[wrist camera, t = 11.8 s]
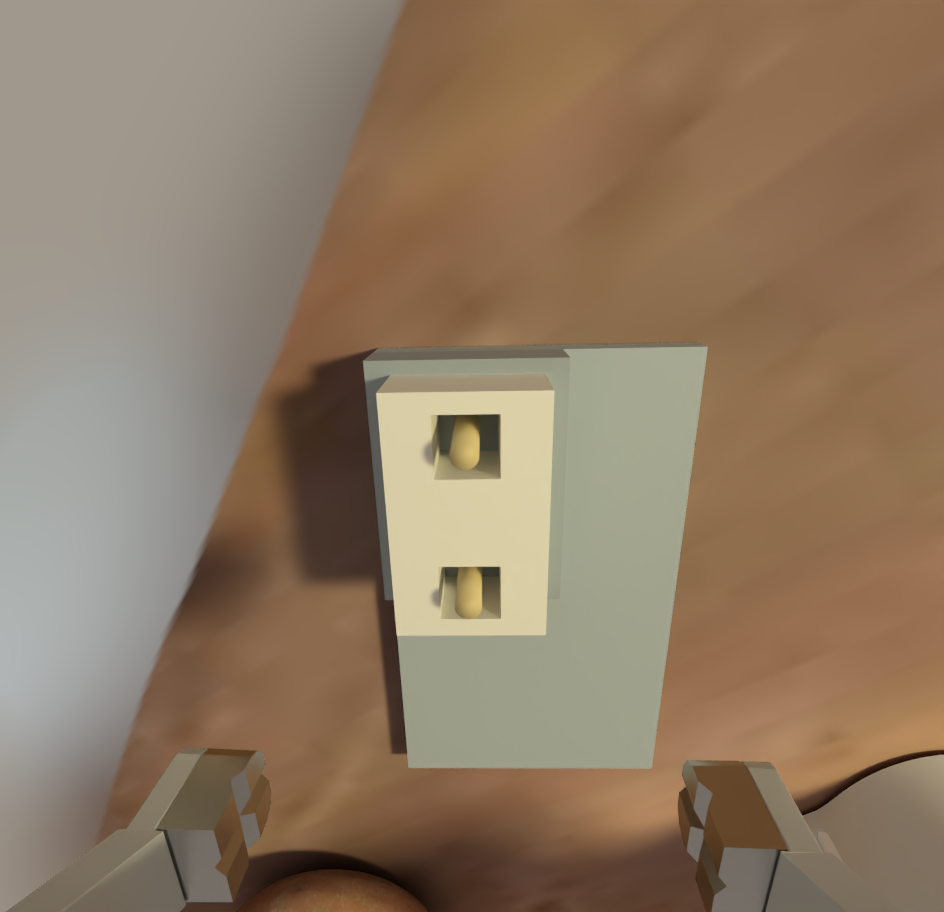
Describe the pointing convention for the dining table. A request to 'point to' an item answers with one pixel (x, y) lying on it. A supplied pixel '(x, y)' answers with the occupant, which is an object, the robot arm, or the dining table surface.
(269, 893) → the ceramic jug
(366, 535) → the dining table surface
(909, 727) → the dining table surface
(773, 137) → the dining table surface
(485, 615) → the two-hole cream block
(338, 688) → the dining table surface
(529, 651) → the grey-green stepped plate
